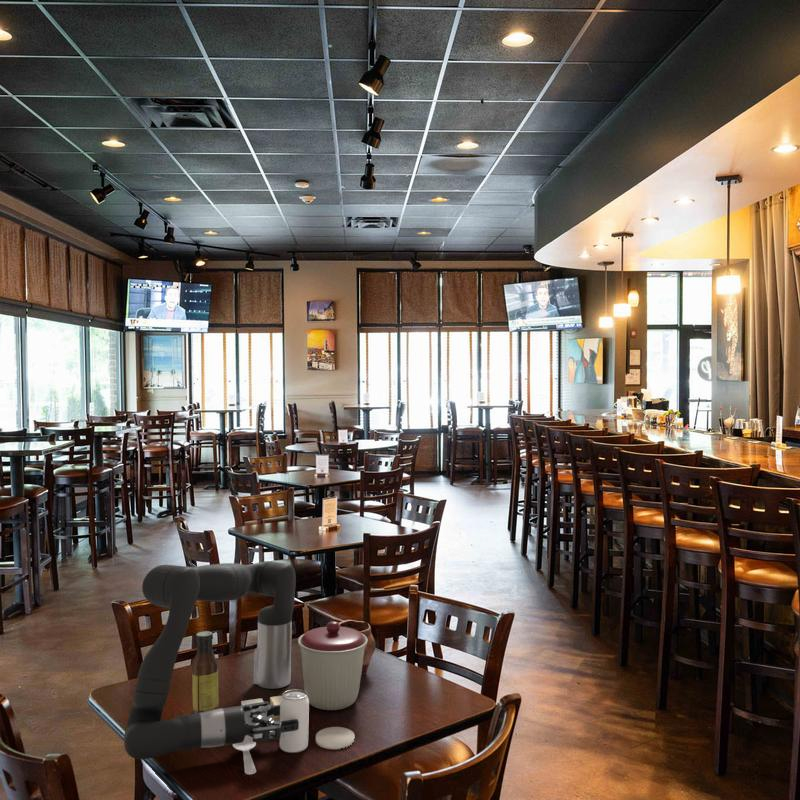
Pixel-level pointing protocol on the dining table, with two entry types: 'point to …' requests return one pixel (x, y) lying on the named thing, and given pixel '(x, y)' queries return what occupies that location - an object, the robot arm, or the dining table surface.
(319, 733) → the cream saucer
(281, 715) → the can
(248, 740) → the spoon
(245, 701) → the white rectangular block
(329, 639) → the canister
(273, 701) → the beech block
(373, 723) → the dining table surface
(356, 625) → the decorative planter
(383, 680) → the dining table surface
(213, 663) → the sauce bottle
